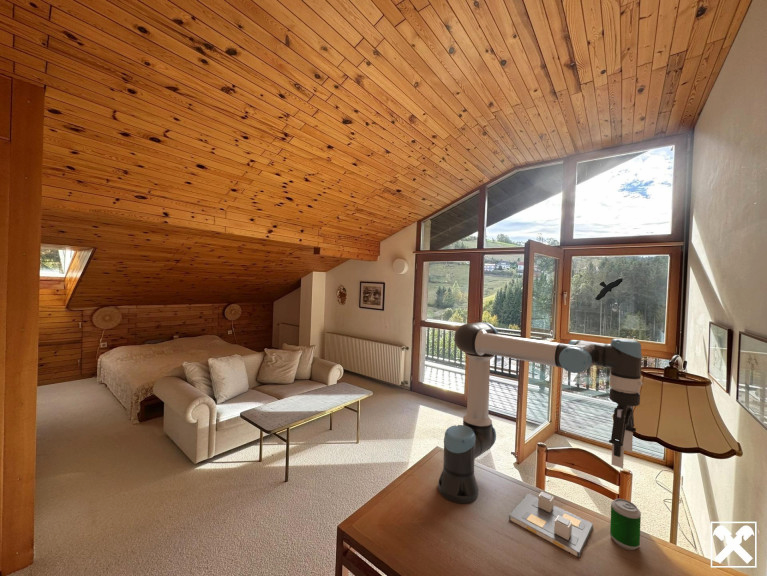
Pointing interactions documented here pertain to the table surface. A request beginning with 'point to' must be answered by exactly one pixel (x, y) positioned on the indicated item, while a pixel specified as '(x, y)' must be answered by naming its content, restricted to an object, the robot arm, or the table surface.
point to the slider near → (563, 527)
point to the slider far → (545, 501)
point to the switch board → (551, 524)
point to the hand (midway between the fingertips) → (622, 458)
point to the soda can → (625, 524)
